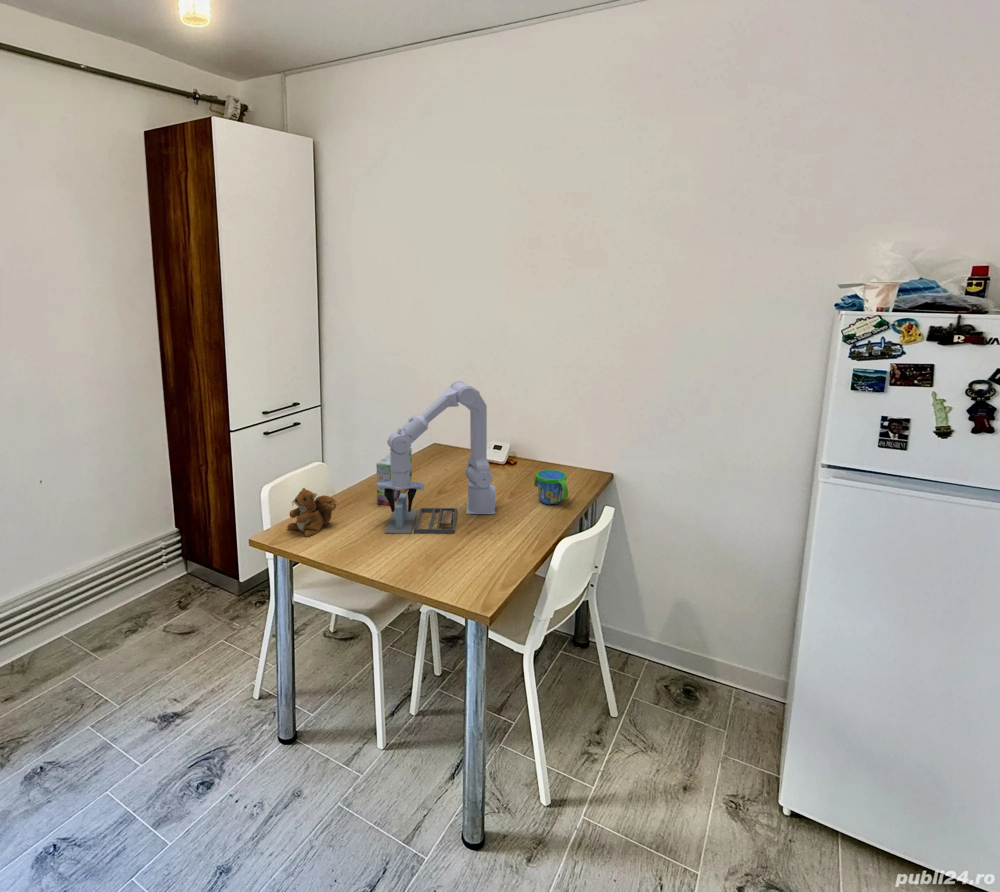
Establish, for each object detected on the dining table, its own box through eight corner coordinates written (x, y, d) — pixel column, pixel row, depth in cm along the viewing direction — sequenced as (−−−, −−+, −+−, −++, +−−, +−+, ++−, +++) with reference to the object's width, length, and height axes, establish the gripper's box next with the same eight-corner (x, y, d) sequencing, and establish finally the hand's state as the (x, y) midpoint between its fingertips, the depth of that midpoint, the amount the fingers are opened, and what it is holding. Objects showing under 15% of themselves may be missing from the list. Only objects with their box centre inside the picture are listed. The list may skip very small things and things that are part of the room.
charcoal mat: (417, 510, 199) (417, 509, 199) (410, 533, 181) (410, 532, 181) (393, 510, 199) (393, 509, 198) (384, 533, 181) (384, 532, 181)
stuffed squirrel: (284, 529, 183) (280, 489, 179) (324, 516, 193) (322, 478, 189) (301, 539, 177) (298, 498, 173) (342, 525, 187) (339, 486, 183)
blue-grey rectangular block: (407, 513, 196) (406, 493, 194) (402, 528, 184) (401, 507, 182) (401, 513, 196) (400, 493, 194) (395, 528, 184) (395, 507, 182)
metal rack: (457, 511, 199) (457, 508, 198) (454, 533, 182) (454, 530, 182) (420, 511, 198) (420, 507, 198) (413, 533, 182) (413, 529, 181)
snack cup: (575, 506, 205) (577, 478, 202) (550, 512, 200) (551, 483, 197) (550, 492, 218) (551, 465, 215) (525, 496, 212) (526, 470, 210)
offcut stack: (452, 514, 196) (452, 509, 196) (450, 529, 185) (450, 523, 184) (443, 514, 196) (443, 508, 195) (441, 529, 185) (440, 523, 184)
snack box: (392, 506, 202) (390, 464, 198) (376, 504, 203) (374, 463, 199) (413, 485, 222) (412, 446, 218) (399, 484, 223) (397, 445, 219)
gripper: (374, 474, 181) (376, 515, 185) (421, 474, 181) (422, 515, 185) (378, 467, 188) (380, 506, 192) (424, 467, 188) (425, 507, 192)
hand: (401, 510), depth 189 cm, fingers open, 5 cm apart
